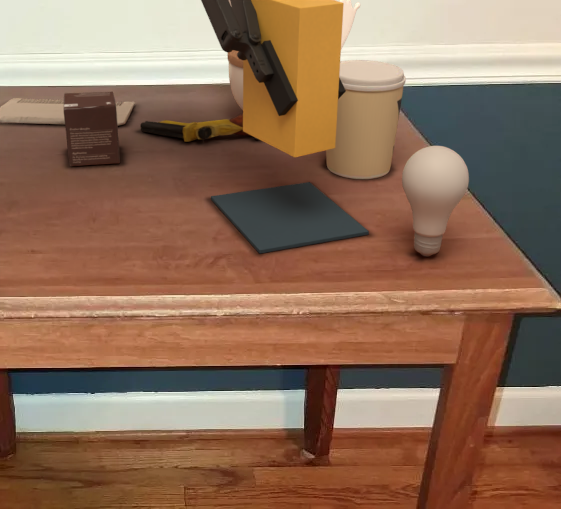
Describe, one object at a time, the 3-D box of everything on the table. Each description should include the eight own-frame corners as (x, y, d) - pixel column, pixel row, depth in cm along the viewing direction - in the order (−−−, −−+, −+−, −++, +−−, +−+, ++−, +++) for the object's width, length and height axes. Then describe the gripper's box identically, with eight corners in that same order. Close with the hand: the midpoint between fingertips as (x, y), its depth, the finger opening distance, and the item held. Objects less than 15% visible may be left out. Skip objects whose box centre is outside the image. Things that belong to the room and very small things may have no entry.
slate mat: (259, 253, 81) (259, 250, 81) (210, 199, 92) (210, 196, 92) (368, 234, 86) (369, 231, 85) (309, 185, 97) (309, 181, 97)
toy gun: (277, 133, 112) (235, 156, 105) (186, 120, 120) (141, 140, 112) (276, 107, 111) (233, 129, 103) (184, 96, 118) (138, 115, 110)
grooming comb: (10, 96, 122) (11, 101, 122) (-14, 118, 113) (-13, 123, 113) (137, 99, 121) (137, 105, 122) (122, 122, 112) (122, 127, 113)
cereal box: (294, 157, 81) (299, 7, 74) (242, 131, 87) (243, -9, 81) (335, 148, 83) (343, 2, 77) (282, 123, 90) (285, -13, 83)
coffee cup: (412, 175, 100) (422, 75, 95) (344, 186, 97) (351, 84, 91) (370, 150, 108) (378, 56, 102) (306, 160, 104) (310, 63, 99)
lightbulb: (465, 250, 83) (480, 144, 78) (446, 275, 78) (461, 164, 73) (406, 236, 85) (418, 132, 80) (385, 260, 81) (395, 151, 76)
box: (118, 147, 106) (114, 90, 103) (120, 165, 101) (116, 105, 98) (68, 150, 105) (63, 92, 102) (68, 167, 100) (62, 107, 96)
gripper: (276, -77, 92) (364, 108, 88) (127, -69, 83) (217, 138, 79) (308, -127, 86) (404, 69, 82) (150, -125, 77) (249, 97, 72)
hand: (312, 103), depth 80 cm, fingers closed on cereal box, 5 cm apart
